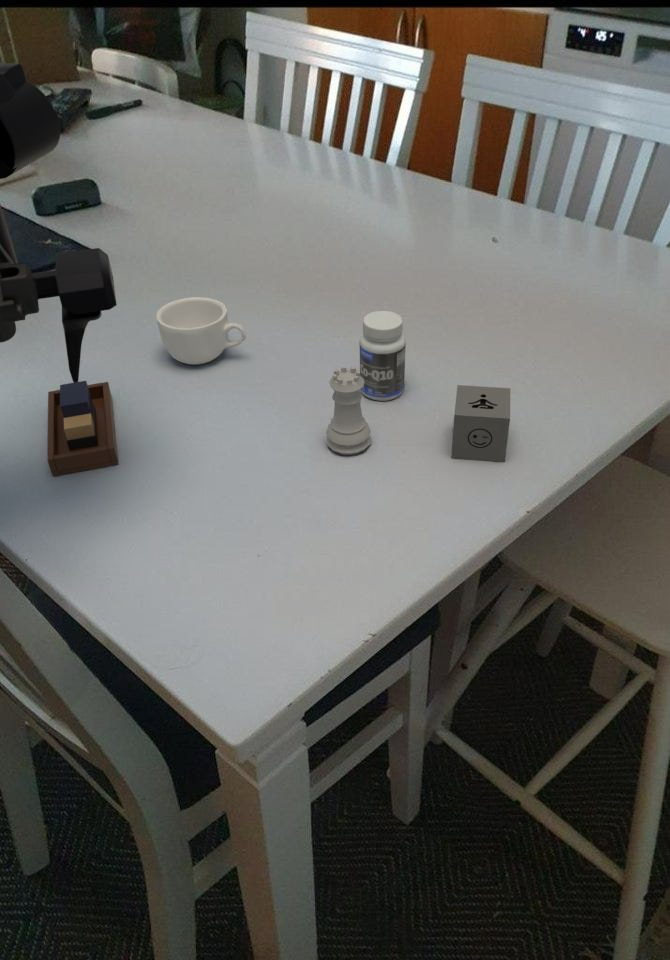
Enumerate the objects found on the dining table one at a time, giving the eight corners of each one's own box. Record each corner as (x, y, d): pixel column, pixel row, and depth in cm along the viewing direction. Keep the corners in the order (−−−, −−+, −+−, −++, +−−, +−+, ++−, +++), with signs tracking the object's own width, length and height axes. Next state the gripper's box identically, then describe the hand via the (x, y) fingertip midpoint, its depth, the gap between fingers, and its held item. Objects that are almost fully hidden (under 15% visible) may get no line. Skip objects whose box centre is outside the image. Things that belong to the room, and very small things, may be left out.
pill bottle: (353, 397, 86) (351, 326, 80) (369, 374, 89) (368, 305, 84) (396, 405, 84) (397, 334, 79) (410, 382, 87) (412, 312, 82)
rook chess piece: (380, 442, 79) (380, 372, 74) (349, 463, 77) (347, 392, 72) (348, 424, 82) (345, 355, 77) (316, 444, 79) (312, 374, 74)
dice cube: (451, 457, 77) (454, 414, 74) (454, 427, 81) (457, 384, 78) (504, 462, 76) (510, 418, 73) (505, 430, 80) (510, 388, 77)
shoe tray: (52, 476, 77) (47, 460, 76) (52, 407, 86) (48, 391, 85) (118, 464, 78) (114, 447, 77) (111, 397, 87) (107, 381, 86)
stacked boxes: (68, 416, 84) (58, 384, 81) (96, 412, 84) (87, 379, 82) (69, 450, 79) (59, 417, 77) (98, 445, 80) (89, 412, 77)
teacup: (153, 368, 91) (144, 326, 88) (179, 335, 97) (172, 294, 94) (237, 377, 89) (231, 334, 86) (258, 343, 95) (254, 301, 92)
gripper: (-218, 270, 49) (-117, 469, 59) (95, 228, 52) (140, 423, 62) (-179, 204, 57) (-96, 389, 67) (89, 172, 61) (130, 352, 71)
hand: (18, 389), depth 67 cm, fingers open, 9 cm apart
